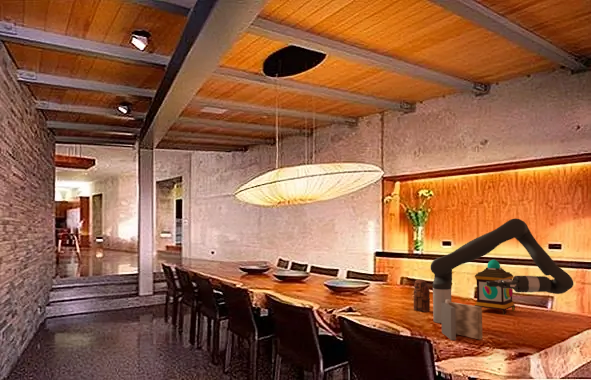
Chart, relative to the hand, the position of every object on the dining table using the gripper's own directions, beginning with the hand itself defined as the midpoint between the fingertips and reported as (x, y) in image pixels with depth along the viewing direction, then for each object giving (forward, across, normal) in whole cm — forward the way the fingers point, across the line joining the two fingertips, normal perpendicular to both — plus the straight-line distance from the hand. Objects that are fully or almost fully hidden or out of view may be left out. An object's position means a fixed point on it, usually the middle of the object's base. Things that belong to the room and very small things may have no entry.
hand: (488, 283), depth 215 cm
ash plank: (+10, -2, +24) cm, 26 cm away
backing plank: (+16, -3, +24) cm, 29 cm away
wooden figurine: (+14, -64, +24) cm, 70 cm away
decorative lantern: (-29, -63, +24) cm, 73 cm away
